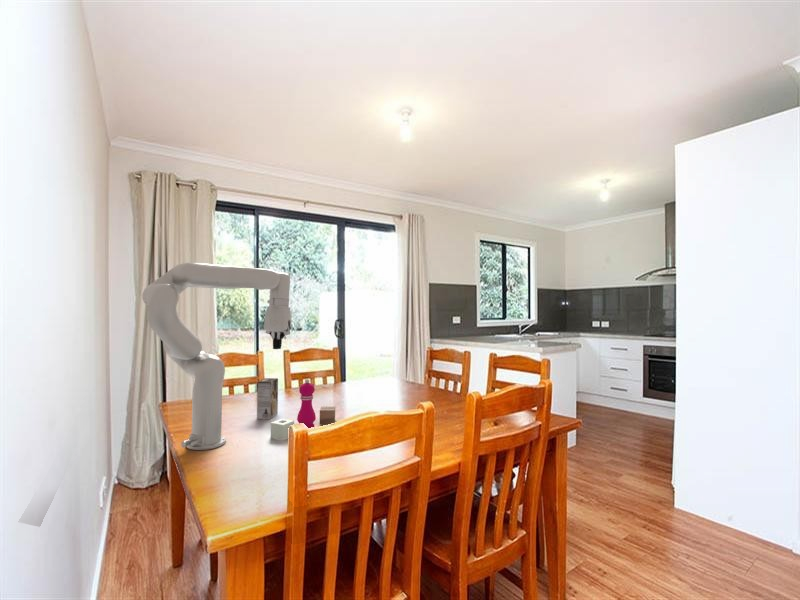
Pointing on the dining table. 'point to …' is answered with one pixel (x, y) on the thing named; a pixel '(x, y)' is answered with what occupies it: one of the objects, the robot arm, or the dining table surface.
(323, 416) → the walnut cube
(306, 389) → the pepper mill
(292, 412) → the dining table surface
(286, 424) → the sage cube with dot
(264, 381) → the coffee box
